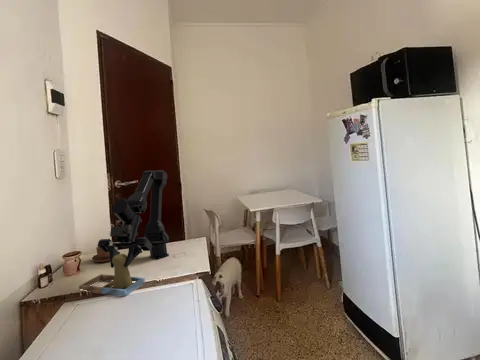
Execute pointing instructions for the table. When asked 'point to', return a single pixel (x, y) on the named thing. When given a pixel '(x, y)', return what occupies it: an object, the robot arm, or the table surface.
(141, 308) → the table surface
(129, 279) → the olive green tapered cylinder
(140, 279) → the two-pocket rack
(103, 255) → the brown hat
